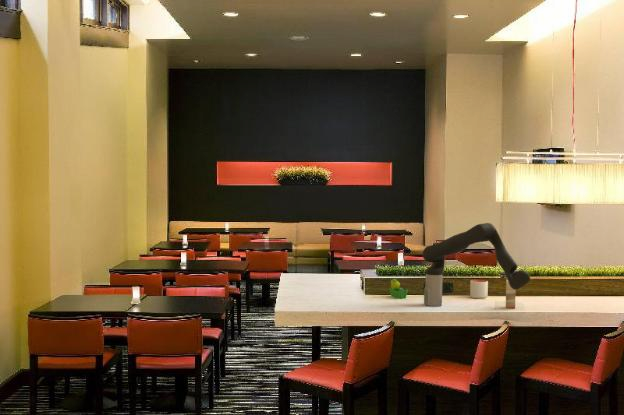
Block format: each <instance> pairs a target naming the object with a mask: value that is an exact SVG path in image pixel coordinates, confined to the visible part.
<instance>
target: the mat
mask: <svg viewBox="0 0 624 415" xmlns="http://www.w3.org/2000/svg"><path fill="white" fill-rule="evenodd" d="M494 309H498V310H499V309H500V310H511V309H510V308H506V301H503V300H502V301H501V300H500V301H499V300H494ZM514 310H520V311H526V307H525V303H524V302H522V301H521V302H520V301H515V309H514Z"/></svg>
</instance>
